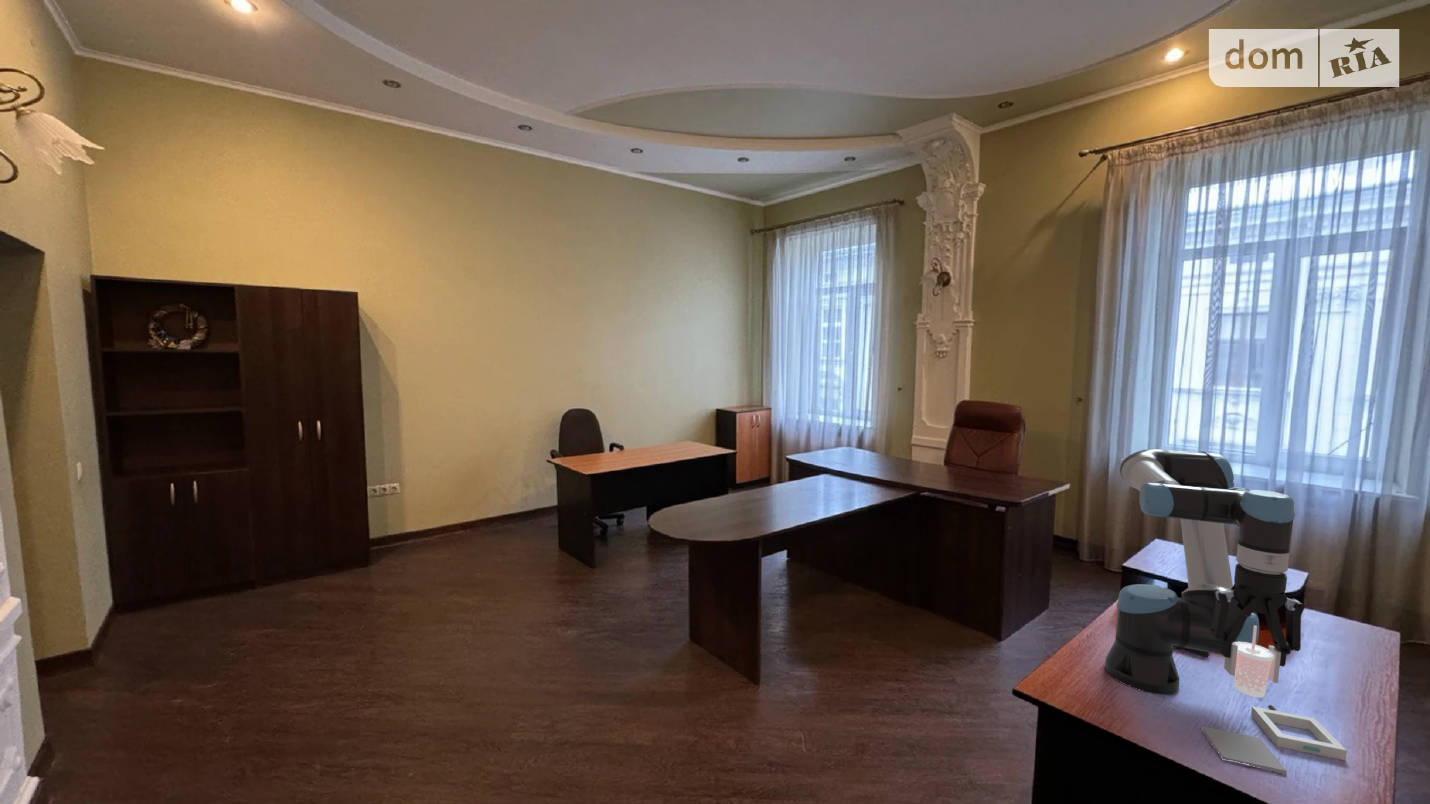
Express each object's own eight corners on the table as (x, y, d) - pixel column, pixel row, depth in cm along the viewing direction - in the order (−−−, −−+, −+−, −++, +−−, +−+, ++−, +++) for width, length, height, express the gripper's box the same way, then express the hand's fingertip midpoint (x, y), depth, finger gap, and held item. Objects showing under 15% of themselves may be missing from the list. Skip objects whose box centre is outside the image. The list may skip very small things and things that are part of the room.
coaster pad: (1222, 760, 114) (1222, 756, 114) (1201, 729, 123) (1201, 726, 123) (1286, 774, 110) (1286, 770, 110) (1260, 741, 119) (1260, 738, 119)
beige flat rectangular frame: (1277, 747, 118) (1278, 737, 117) (1241, 703, 132) (1242, 694, 132) (1346, 761, 114) (1348, 751, 113) (1301, 714, 128) (1302, 705, 128)
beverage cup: (1276, 702, 111) (1283, 636, 110) (1238, 695, 113) (1244, 630, 112) (1259, 685, 117) (1266, 621, 116) (1223, 679, 119) (1229, 616, 118)
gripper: (1210, 567, 113) (1200, 675, 115) (1336, 582, 106) (1323, 696, 108) (1194, 554, 120) (1185, 656, 122) (1311, 567, 113) (1300, 675, 115)
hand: (1250, 675), depth 115 cm, fingers closed on beverage cup, 6 cm apart
